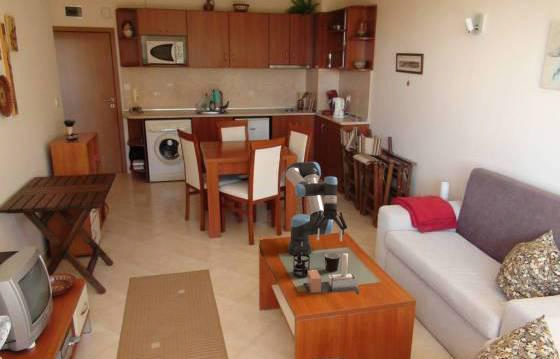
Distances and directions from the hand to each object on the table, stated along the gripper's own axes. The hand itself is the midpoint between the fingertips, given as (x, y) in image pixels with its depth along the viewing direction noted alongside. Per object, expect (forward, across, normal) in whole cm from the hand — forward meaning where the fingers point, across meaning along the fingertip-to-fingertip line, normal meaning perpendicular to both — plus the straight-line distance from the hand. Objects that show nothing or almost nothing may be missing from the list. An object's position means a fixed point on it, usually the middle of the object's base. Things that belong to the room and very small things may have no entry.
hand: (329, 240), depth 255 cm
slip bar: (+22, +1, -17) cm, 28 cm away
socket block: (+25, -13, -16) cm, 32 cm away
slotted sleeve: (+26, -4, -15) cm, 30 cm away
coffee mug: (+17, +3, +5) cm, 18 cm away
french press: (+21, -16, +1) cm, 26 cm away
